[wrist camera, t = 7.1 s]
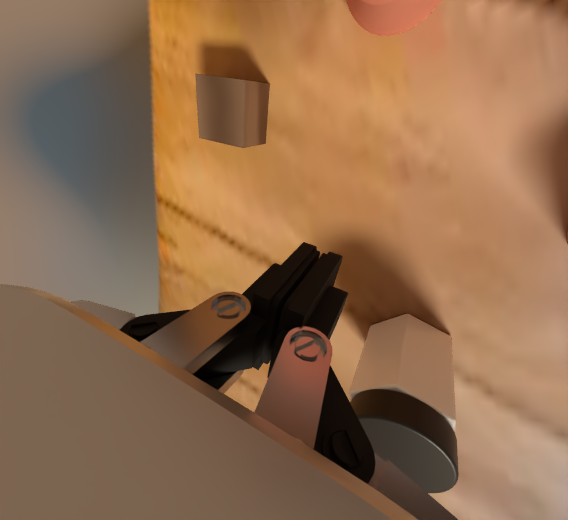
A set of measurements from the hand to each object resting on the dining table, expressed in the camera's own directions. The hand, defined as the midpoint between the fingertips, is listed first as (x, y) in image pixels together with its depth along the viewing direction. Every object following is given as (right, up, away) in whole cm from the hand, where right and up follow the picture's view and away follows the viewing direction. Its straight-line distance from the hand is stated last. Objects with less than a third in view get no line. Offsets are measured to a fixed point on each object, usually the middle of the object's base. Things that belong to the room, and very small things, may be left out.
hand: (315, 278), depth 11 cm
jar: (+12, -9, +18) cm, 24 cm away
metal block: (-5, +15, +15) cm, 22 cm away
